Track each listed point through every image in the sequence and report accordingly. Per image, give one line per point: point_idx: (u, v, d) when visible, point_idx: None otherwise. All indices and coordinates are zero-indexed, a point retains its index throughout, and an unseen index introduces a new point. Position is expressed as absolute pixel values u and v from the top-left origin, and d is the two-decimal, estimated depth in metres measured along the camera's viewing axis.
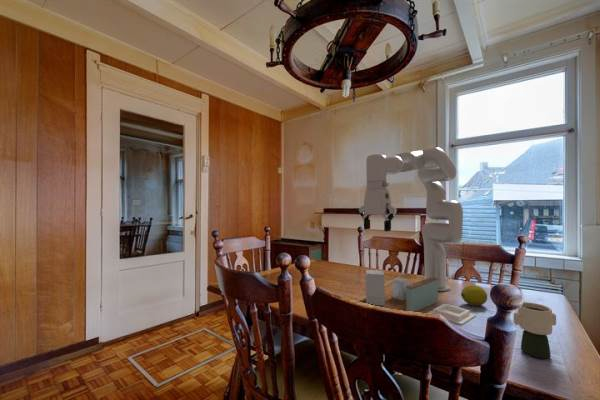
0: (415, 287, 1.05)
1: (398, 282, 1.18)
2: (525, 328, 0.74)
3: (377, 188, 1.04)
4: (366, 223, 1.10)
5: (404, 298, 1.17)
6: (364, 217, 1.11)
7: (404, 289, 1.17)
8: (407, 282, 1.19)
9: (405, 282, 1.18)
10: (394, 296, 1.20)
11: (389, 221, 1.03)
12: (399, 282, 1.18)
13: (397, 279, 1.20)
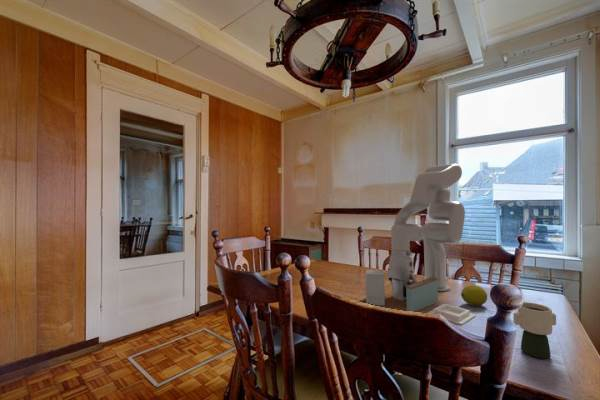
0: (415, 287, 1.05)
1: (398, 282, 1.18)
2: (525, 328, 0.74)
3: (402, 257, 1.16)
4: None
5: (404, 298, 1.17)
6: (392, 282, 1.22)
7: None
8: None
9: None
10: (394, 296, 1.20)
11: None
12: (399, 282, 1.18)
13: (397, 279, 1.20)
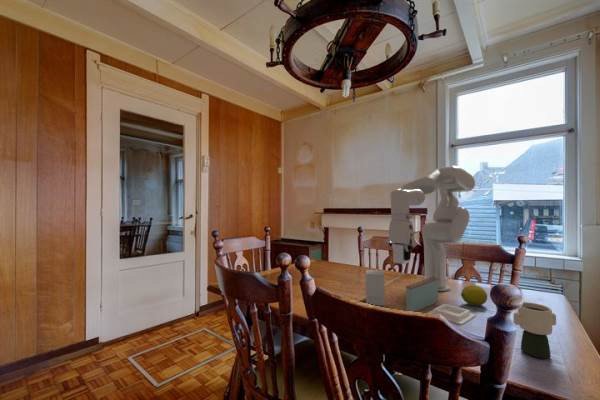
0: (415, 287, 1.05)
1: (398, 246, 1.19)
2: (525, 328, 0.74)
3: (402, 220, 1.17)
4: None
5: (404, 261, 1.18)
6: None
7: (404, 252, 1.18)
8: None
9: None
10: (394, 260, 1.20)
11: (409, 252, 1.17)
12: (399, 246, 1.18)
13: None
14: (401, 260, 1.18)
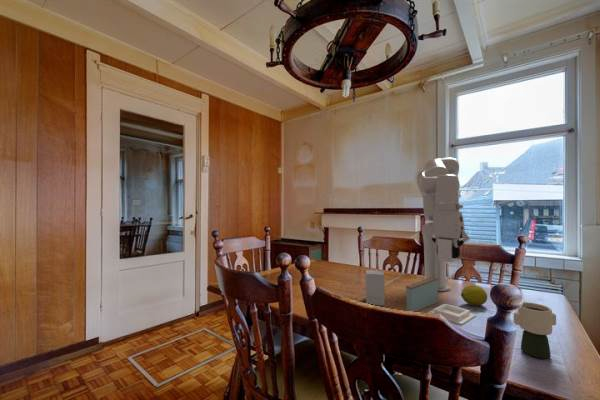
0: (415, 287, 1.05)
1: (445, 241, 1.00)
2: (525, 328, 0.74)
3: (450, 210, 0.99)
4: None
5: (453, 259, 0.99)
6: (437, 242, 1.04)
7: (452, 249, 0.99)
8: None
9: None
10: (440, 258, 1.02)
11: (458, 248, 0.99)
12: (446, 241, 1.00)
13: (443, 238, 1.03)
14: (449, 258, 0.99)
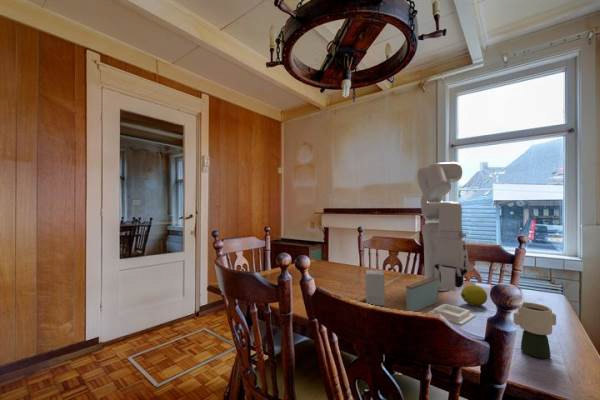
0: (415, 287, 1.05)
1: (448, 270, 0.99)
2: (525, 328, 0.74)
3: (454, 239, 0.98)
4: None
5: (456, 288, 0.98)
6: (440, 270, 1.03)
7: None
8: None
9: None
10: (443, 286, 1.01)
11: (462, 277, 0.98)
12: (450, 269, 0.99)
13: (446, 266, 1.02)
14: (452, 286, 0.98)
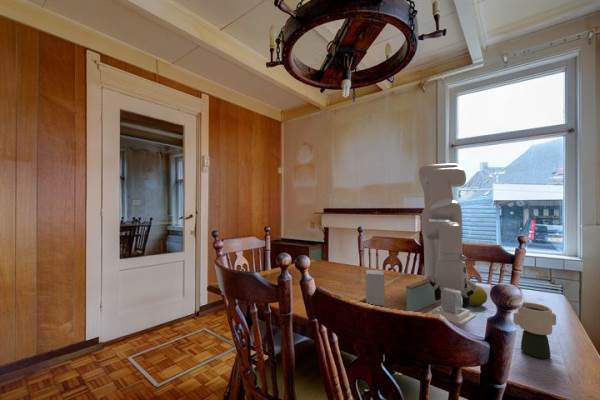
0: (415, 287, 1.05)
1: (448, 295, 1.00)
2: (525, 328, 0.74)
3: (454, 261, 0.98)
4: (438, 294, 1.04)
5: (456, 314, 0.98)
6: (435, 287, 1.05)
7: (456, 304, 0.98)
8: (459, 295, 1.00)
9: (457, 295, 0.99)
10: None
11: (468, 297, 0.97)
12: (450, 295, 0.99)
13: (446, 291, 1.02)
14: (452, 313, 0.99)
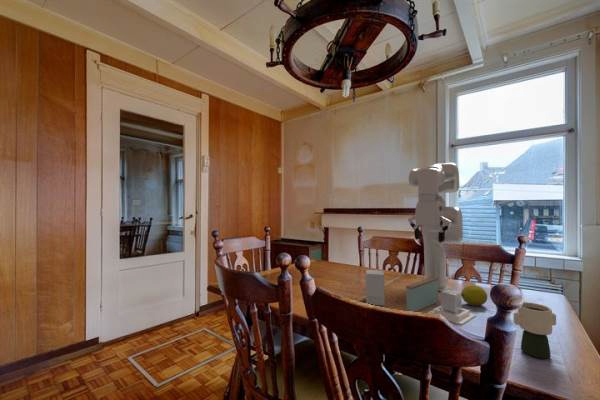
0: (415, 287, 1.05)
1: (448, 295, 1.00)
2: (525, 328, 0.74)
3: (431, 201, 1.08)
4: (417, 233, 1.15)
5: (456, 314, 0.98)
6: (415, 228, 1.15)
7: (456, 304, 0.98)
8: (459, 295, 1.00)
9: (457, 295, 0.99)
10: None
11: (443, 232, 1.08)
12: (450, 295, 0.99)
13: (446, 291, 1.02)
14: (452, 313, 0.99)
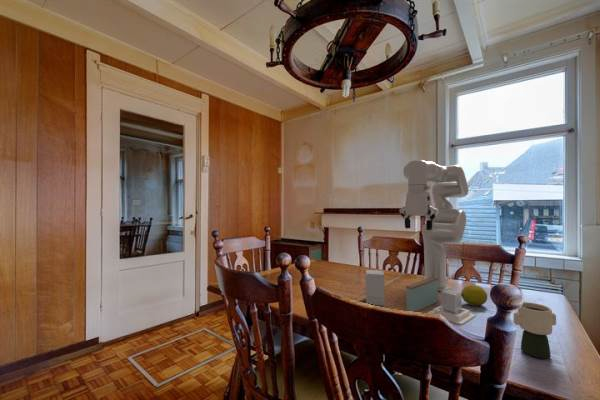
0: (415, 287, 1.05)
1: (448, 295, 1.00)
2: (525, 328, 0.74)
3: (419, 191, 1.14)
4: (407, 223, 1.21)
5: (456, 314, 0.98)
6: (405, 217, 1.21)
7: (456, 304, 0.98)
8: (459, 295, 1.00)
9: (457, 295, 0.99)
10: None
11: (431, 221, 1.13)
12: (450, 295, 0.99)
13: (446, 291, 1.02)
14: (452, 313, 0.99)
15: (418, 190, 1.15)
